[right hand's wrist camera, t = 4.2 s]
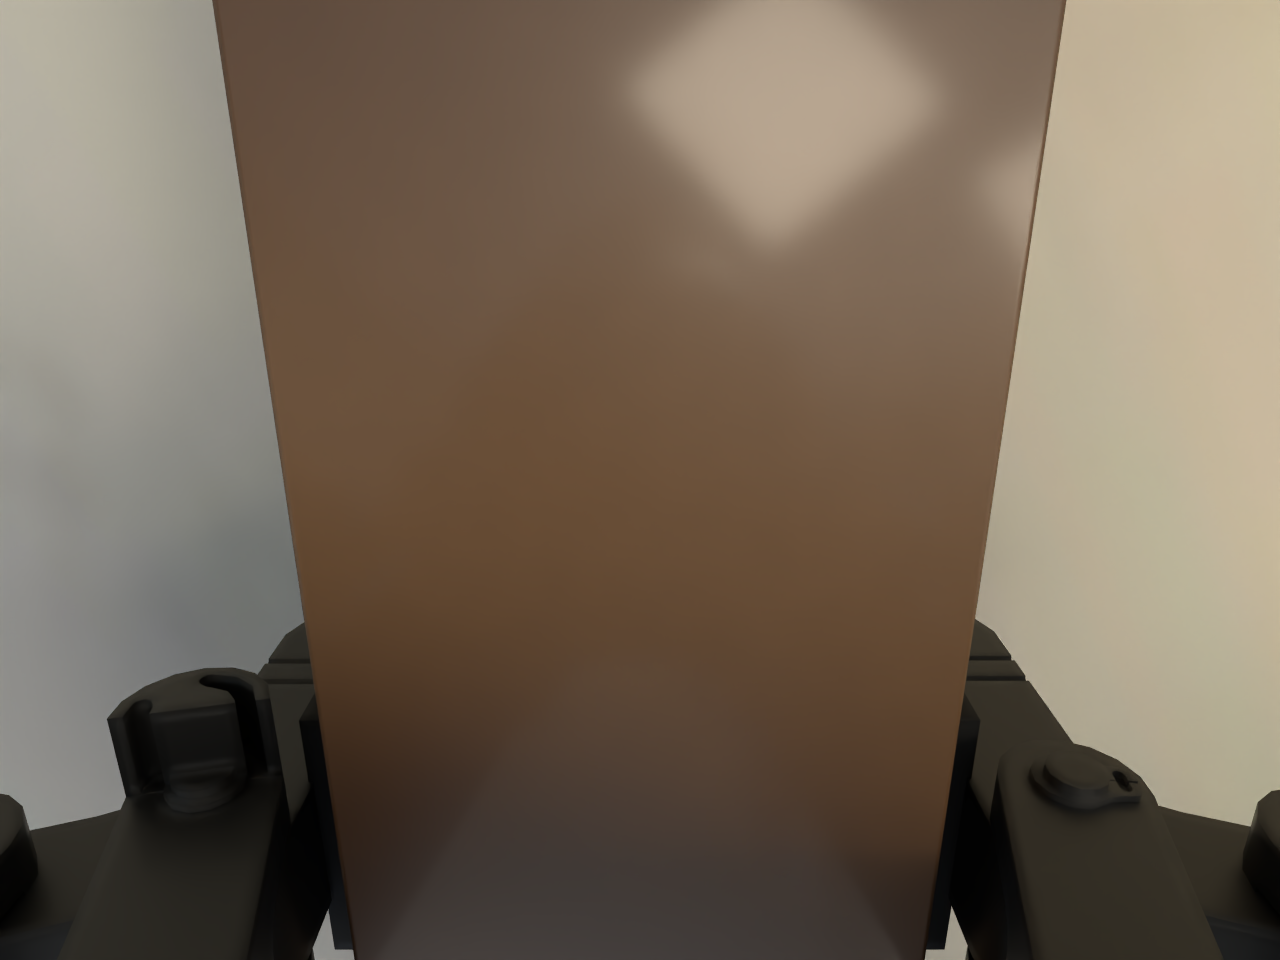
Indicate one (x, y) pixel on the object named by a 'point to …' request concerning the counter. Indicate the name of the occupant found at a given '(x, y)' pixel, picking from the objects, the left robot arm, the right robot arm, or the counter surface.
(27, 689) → the counter surface
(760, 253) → the post
